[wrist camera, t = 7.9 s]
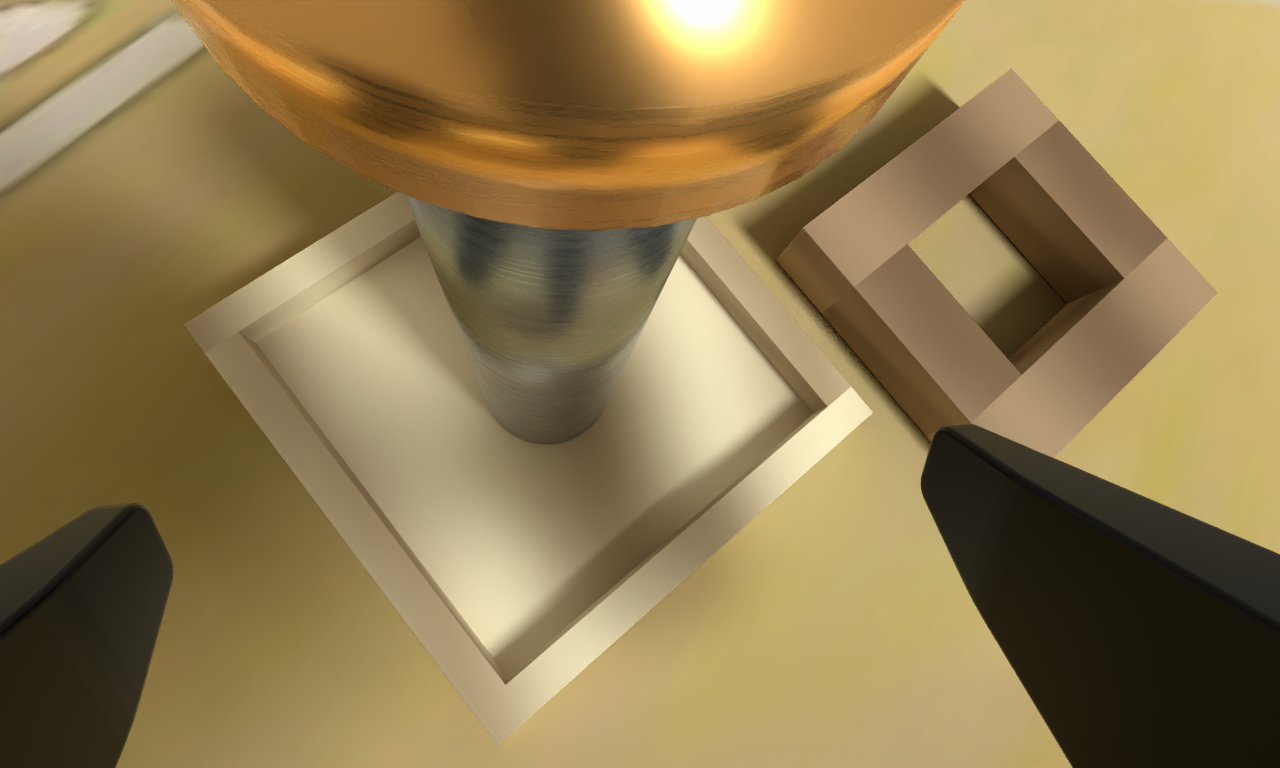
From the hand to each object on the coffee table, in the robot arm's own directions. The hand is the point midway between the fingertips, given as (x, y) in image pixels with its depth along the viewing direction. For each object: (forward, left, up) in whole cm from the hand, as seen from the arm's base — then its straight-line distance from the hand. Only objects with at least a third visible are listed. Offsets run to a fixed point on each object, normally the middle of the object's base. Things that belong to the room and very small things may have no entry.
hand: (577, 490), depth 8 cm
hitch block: (+13, -2, -9) cm, 16 cm away
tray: (+2, +3, -9) cm, 9 cm away
